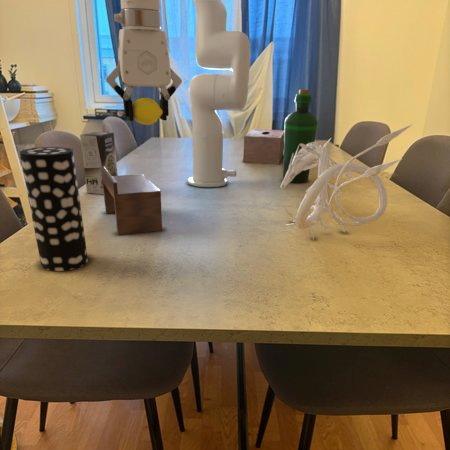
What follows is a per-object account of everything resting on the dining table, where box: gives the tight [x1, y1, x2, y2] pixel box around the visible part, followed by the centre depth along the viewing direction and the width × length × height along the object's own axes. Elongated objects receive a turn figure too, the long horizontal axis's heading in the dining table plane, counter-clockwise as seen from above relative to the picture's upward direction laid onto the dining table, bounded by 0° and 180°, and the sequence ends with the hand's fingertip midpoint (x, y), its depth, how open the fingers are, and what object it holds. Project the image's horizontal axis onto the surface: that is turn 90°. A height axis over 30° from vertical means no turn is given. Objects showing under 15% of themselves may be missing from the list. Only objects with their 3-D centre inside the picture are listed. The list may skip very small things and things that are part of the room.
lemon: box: [132, 97, 163, 126], centre depth 93 cm, size 7×5×5 cm
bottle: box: [282, 88, 319, 184], centre depth 140 cm, size 11×11×28 cm
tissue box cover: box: [242, 128, 284, 165], centre depth 183 cm, size 26×14×10 cm, turn 169°
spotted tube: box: [19, 146, 89, 272], centre depth 76 cm, size 8×8×20 cm
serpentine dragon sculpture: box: [279, 123, 413, 241], centre depth 93 cm, size 45×21×26 cm, turn 4°
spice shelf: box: [101, 166, 163, 236], centre depth 101 cm, size 10×18×11 cm, turn 22°
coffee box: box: [79, 131, 119, 195], centre depth 125 cm, size 9×6×16 cm
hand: (147, 119), depth 93 cm, fingers closed on lemon, 6 cm apart
